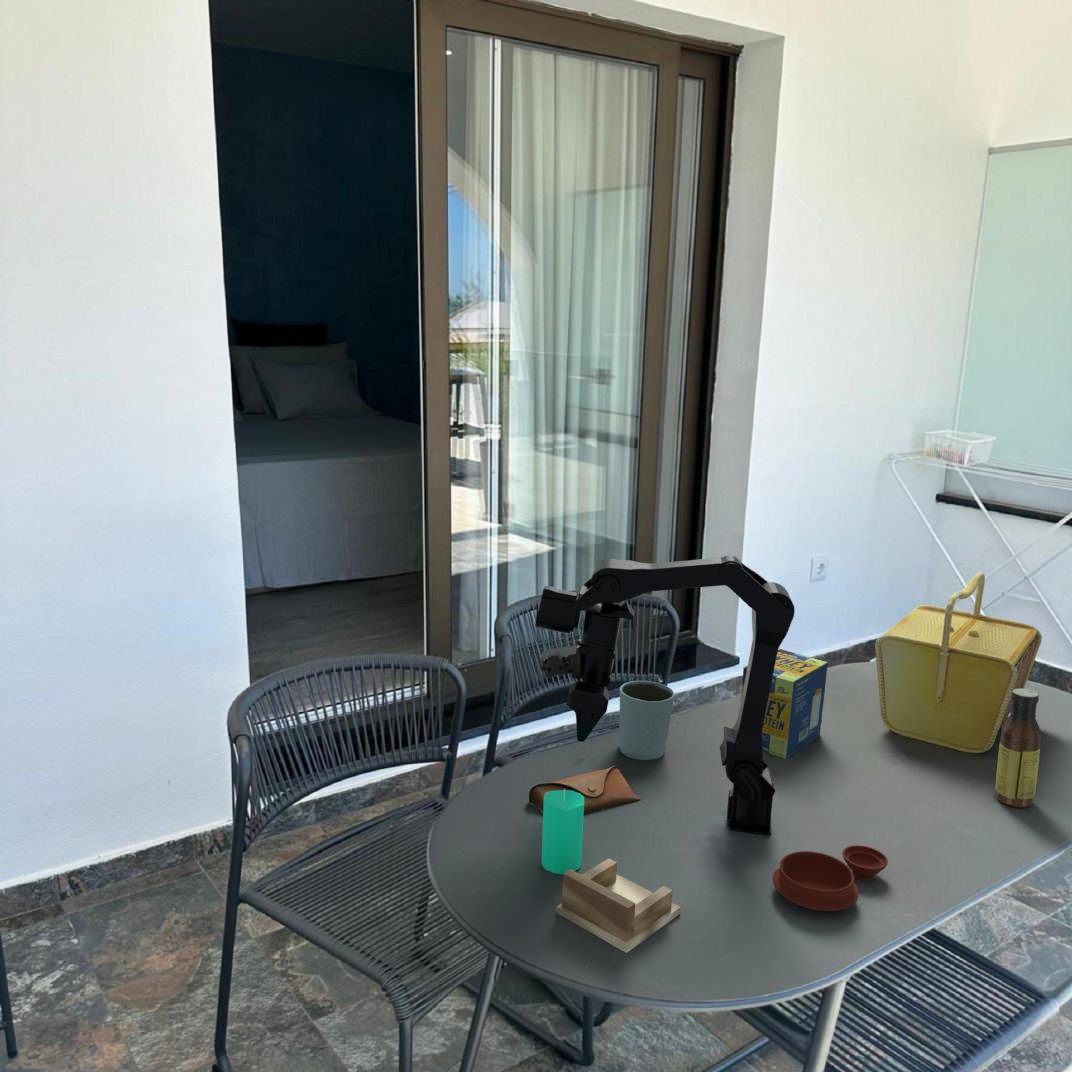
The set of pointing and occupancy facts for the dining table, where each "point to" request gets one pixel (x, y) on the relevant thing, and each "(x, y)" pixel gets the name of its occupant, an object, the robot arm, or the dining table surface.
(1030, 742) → the sauce bottle
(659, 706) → the pale green cup
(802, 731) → the protein box
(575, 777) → the sunglasses case
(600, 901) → the dock
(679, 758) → the dining table surface
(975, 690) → the picnic basket
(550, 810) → the candle
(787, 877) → the pottery
